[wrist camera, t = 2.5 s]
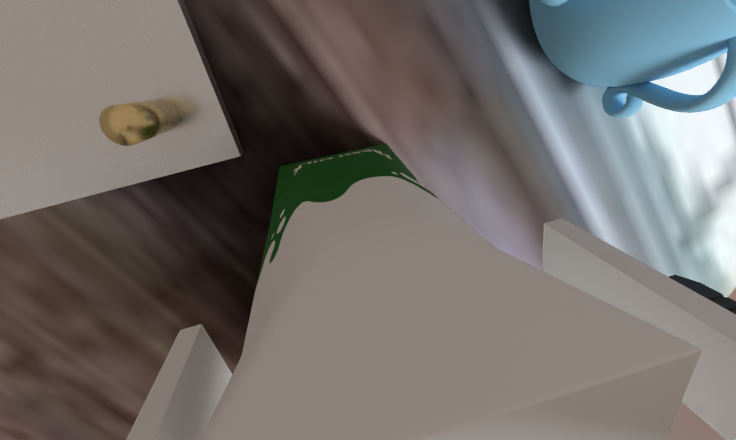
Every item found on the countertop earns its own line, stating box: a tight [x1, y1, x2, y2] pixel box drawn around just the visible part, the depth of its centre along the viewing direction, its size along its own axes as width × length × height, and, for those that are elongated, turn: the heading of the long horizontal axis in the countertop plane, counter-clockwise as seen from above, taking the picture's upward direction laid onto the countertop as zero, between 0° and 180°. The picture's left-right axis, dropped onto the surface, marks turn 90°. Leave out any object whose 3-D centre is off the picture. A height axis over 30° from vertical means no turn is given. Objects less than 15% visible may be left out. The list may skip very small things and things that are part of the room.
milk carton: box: [200, 143, 701, 440], centre depth 13 cm, size 9×9×20 cm
